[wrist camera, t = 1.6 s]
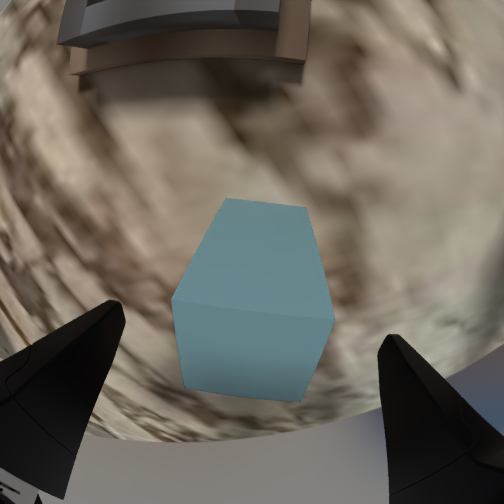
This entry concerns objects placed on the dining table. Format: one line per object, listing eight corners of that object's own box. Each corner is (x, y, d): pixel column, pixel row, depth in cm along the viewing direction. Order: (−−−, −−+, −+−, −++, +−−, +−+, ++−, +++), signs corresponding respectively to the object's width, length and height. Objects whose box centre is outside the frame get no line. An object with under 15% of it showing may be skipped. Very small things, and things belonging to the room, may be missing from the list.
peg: (306, 207, 13) (335, 319, 6) (293, 275, 15) (300, 401, 8) (225, 198, 13) (171, 299, 6) (222, 266, 15) (184, 387, 8)
